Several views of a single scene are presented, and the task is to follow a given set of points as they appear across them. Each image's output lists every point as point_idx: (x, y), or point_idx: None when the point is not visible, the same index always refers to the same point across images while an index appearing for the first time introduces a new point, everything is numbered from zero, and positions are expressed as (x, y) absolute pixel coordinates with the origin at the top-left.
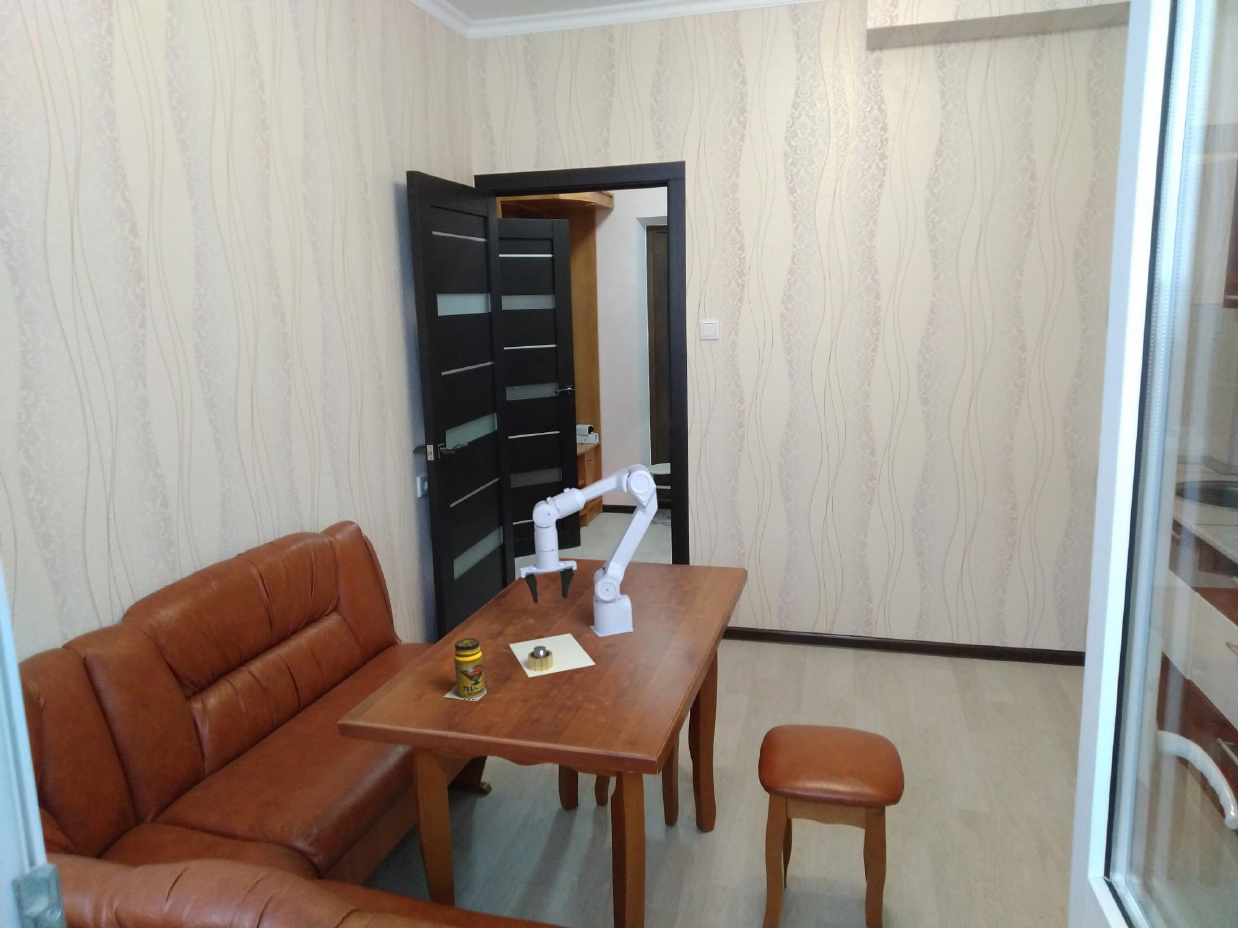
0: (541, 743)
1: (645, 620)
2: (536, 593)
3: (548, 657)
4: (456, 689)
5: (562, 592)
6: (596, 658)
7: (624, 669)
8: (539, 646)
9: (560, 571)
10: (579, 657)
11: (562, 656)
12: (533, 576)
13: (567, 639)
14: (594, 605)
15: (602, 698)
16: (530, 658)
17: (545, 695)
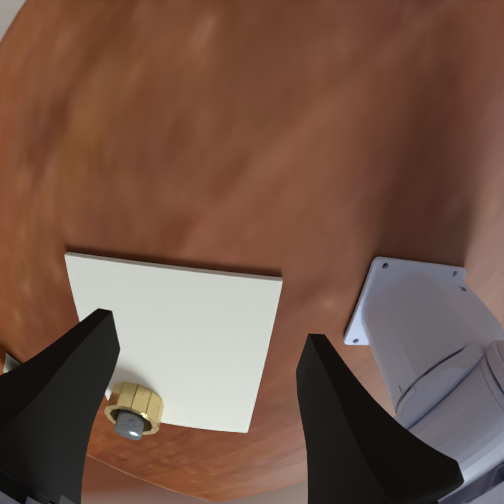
0: (127, 473)
1: (493, 285)
2: (93, 409)
3: (147, 433)
4: (11, 365)
5: (311, 365)
6: (266, 411)
7: (285, 445)
8: (127, 428)
9: (367, 501)
10: (230, 407)
11: (194, 390)
12: (42, 499)
13: (249, 320)
14: (394, 379)
15: (211, 469)
16: (110, 419)
17: (137, 442)
